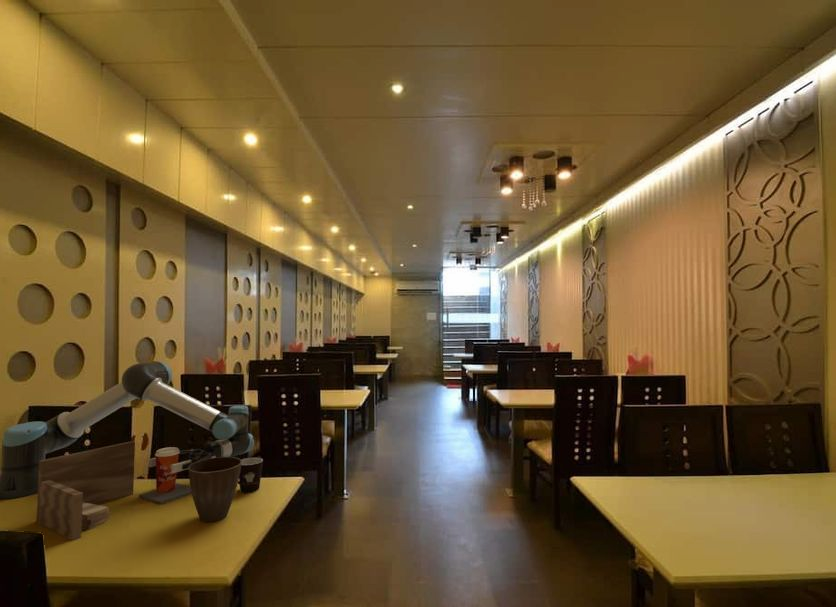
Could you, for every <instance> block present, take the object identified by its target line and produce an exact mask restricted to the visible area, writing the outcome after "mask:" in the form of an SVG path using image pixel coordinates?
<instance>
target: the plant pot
mask: <svg viewBox="0 0 836 607" xmlns="http://www.w3.org/2000/svg"><path fill="white" fill-rule="evenodd" d="M241 460H242V459H240V458H238V457H235V456H232V457H216V458H209V459H205V460H201V461H198V462H195V463H193V464H191V465H190V466H189V467H188V469H187V470H188V478H189V487H191V491H192V494H191V497H192V499H193V503H194V507H195V509H196V512H197V515H198V517H199V519H200V521H201V522H202V523H215V522H219V521H222V520H223V519H225V518H227V516H228V513H229V511H230V508H231V505H233V504H232V503H233V501H234V498H235V494H236V490H237V487H238V485H239V484H238V481H239V475H240V470H241V463H242V461H241ZM221 519H222V520H221Z"/></svg>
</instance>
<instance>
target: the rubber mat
mask: <svg viewBox="0 0 836 607" xmlns="http://www.w3.org/2000/svg"><path fill="white" fill-rule="evenodd" d="M190 495H192V491H191V486H190V485H185V484H181V483H179V482H176V483H175V489H174V490H173V491H170V492H166V493H158V492H157V490H156V489H153V490H150V491H147V492H145V493H140V494H139V495H138V497H139V498H141V497H142V498H141V499H143V498H145V499H144V500H146V499H147V501H149V500H150V501H149V502H152V501H153V503H155V504H158V505H163V504H166V503H169V502H173V501H175V500H177V499H180V498H184V497H185V496H186V497H187V496H190Z"/></svg>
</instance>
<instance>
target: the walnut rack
mask: <svg viewBox="0 0 836 607" xmlns="http://www.w3.org/2000/svg"><path fill="white" fill-rule="evenodd" d="M135 452H136V442H135V441H133V440H131V441H127V442H123V443H117V444H116V443H115V444H112V445H111V444H110V445H108V446H103V447H98V448H93V449H88V450H84V451H79V452H74V453H69V454H64V455H59V456H56V457H49V458H47V459H46V458H45V460H40V461H39V480H38V492H37V498H36V499H37V500H36V501H37V502H36V523H38V524H40V525H42V526H44V527H46V528H48V529H50V530H51V531H53V532H56V533H57V534H59V535H61V534H62V535H61V536H62V537H64V538H67V539H69V540H70V541H74V539H75V540H77V539H81V538H82V529H81V528H82V506H83V502H84V503H90V504H95V505H103V504H105V502H106V503H108V501H109V502H112V501H115V500H118V498H119V499H121V497H122V498H124V497H128V496H131V495H134V482H135V479H134V478H135V458H136V457H135V455H136V453H135ZM114 499H115V500H114ZM111 500H112V501H111Z"/></svg>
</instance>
